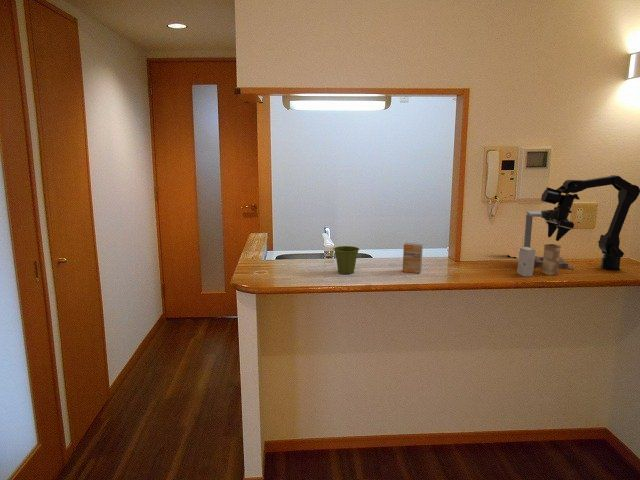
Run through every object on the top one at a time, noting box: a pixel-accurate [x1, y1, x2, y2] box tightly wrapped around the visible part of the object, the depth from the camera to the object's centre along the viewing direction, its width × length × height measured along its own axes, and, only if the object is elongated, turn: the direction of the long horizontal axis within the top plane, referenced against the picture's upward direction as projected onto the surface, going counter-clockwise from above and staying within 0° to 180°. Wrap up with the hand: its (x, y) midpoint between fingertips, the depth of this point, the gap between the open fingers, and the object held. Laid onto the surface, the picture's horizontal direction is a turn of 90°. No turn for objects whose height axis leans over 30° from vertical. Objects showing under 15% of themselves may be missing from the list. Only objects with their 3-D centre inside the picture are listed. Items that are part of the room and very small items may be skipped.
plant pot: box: [332, 245, 360, 275], centre depth 206 cm, size 12×12×11 cm
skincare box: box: [516, 246, 537, 277], centre depth 200 cm, size 6×4×12 cm
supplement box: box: [402, 242, 424, 274], centre depth 207 cm, size 8×5×13 cm, turn 70°
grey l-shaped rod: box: [523, 210, 542, 248], centre depth 219 cm, size 12×12×25 cm
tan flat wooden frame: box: [534, 255, 575, 271], centre depth 219 cm, size 18×16×2 cm
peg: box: [541, 243, 562, 276], centre depth 202 cm, size 5×5×13 cm
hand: (552, 238), depth 212 cm, fingers open, 9 cm apart
